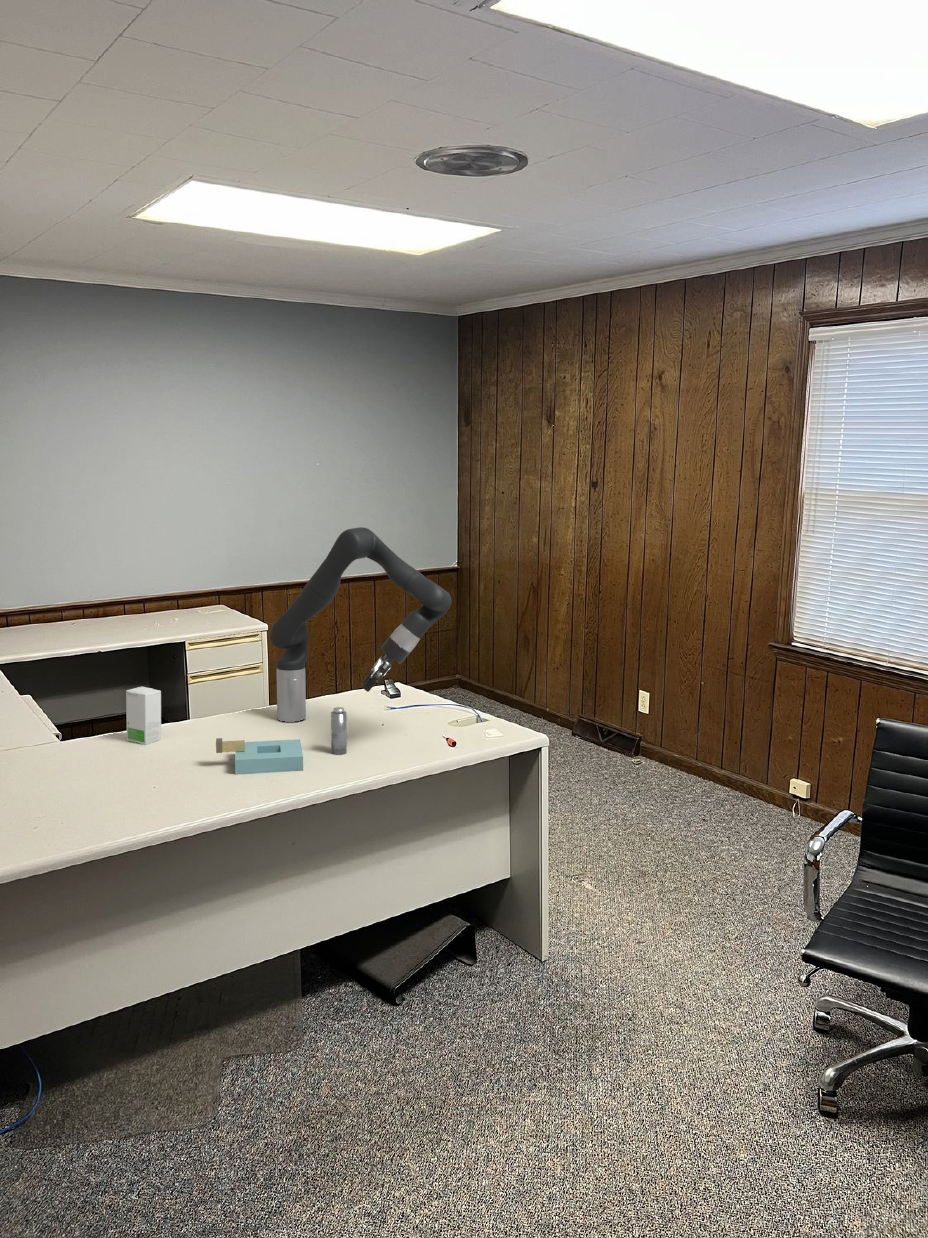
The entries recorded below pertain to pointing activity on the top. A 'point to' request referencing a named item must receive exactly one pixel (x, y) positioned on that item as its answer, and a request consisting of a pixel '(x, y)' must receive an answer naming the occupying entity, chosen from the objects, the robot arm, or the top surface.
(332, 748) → the metal capped cylinder
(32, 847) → the top surface
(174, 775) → the top surface
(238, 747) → the block hammer
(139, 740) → the skincare box
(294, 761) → the dock
